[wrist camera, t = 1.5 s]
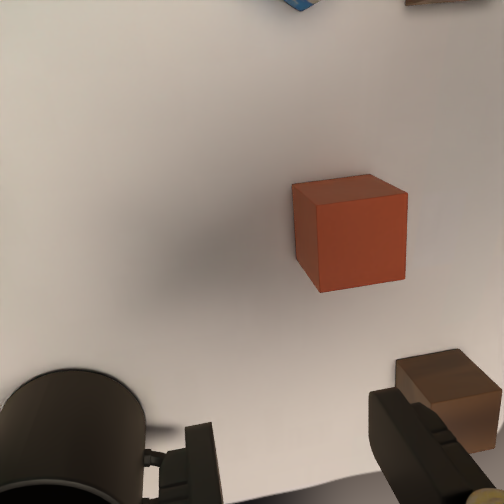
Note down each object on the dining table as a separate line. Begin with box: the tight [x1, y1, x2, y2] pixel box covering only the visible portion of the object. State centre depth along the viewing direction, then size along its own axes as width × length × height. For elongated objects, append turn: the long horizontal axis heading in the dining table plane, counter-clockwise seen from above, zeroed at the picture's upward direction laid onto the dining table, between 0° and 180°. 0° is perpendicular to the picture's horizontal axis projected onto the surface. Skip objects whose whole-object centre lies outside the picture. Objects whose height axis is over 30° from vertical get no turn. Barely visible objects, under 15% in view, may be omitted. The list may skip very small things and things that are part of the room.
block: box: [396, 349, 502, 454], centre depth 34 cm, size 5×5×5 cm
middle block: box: [292, 174, 408, 293], centre depth 27 cm, size 5×5×5 cm
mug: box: [0, 371, 166, 504], centre depth 28 cm, size 9×12×9 cm
